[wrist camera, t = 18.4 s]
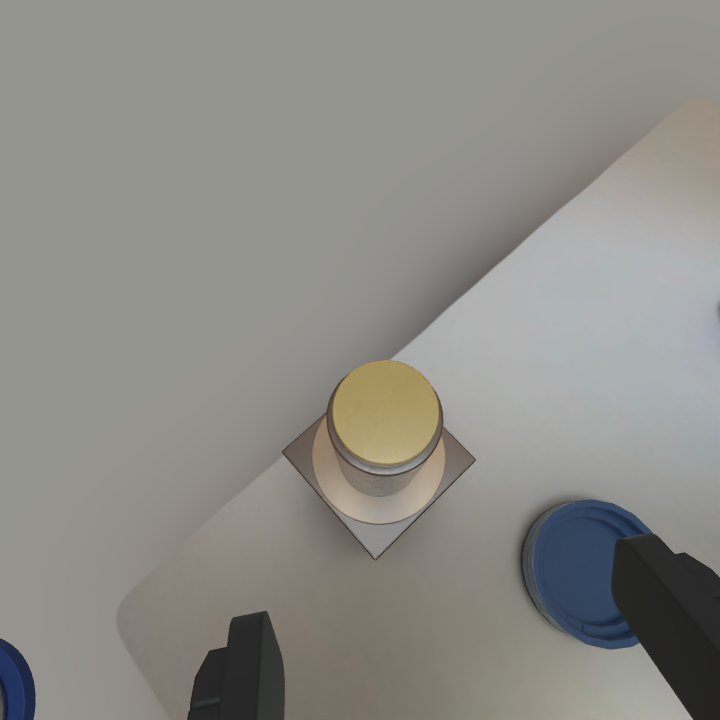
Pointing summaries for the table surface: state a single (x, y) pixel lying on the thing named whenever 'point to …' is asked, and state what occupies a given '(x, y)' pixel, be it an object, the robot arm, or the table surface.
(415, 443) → the brown jar
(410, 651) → the table surface
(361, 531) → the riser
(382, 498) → the coaster
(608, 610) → the blue dish
